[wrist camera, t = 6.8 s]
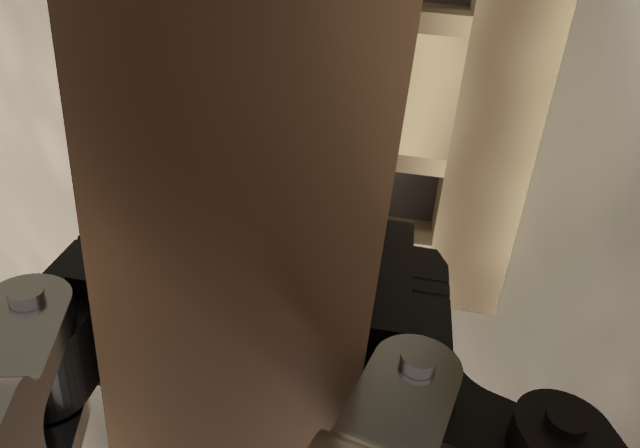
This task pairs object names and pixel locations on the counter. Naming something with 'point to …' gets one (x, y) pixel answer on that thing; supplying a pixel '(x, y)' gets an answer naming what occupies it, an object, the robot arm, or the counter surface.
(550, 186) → the counter surface
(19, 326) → the robot arm
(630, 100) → the counter surface
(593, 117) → the counter surface
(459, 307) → the keyhole board
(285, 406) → the walnut bar
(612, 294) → the counter surface
